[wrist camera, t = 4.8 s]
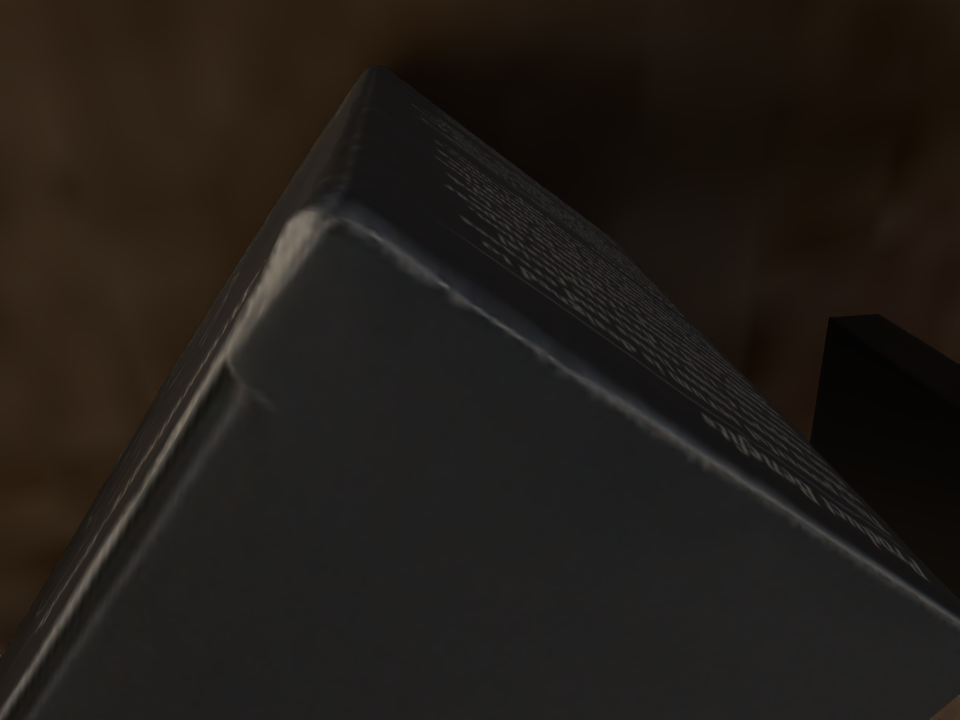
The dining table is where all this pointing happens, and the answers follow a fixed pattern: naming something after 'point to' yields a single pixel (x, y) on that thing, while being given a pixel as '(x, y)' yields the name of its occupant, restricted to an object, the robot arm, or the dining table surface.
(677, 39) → the dining table surface
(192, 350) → the box
